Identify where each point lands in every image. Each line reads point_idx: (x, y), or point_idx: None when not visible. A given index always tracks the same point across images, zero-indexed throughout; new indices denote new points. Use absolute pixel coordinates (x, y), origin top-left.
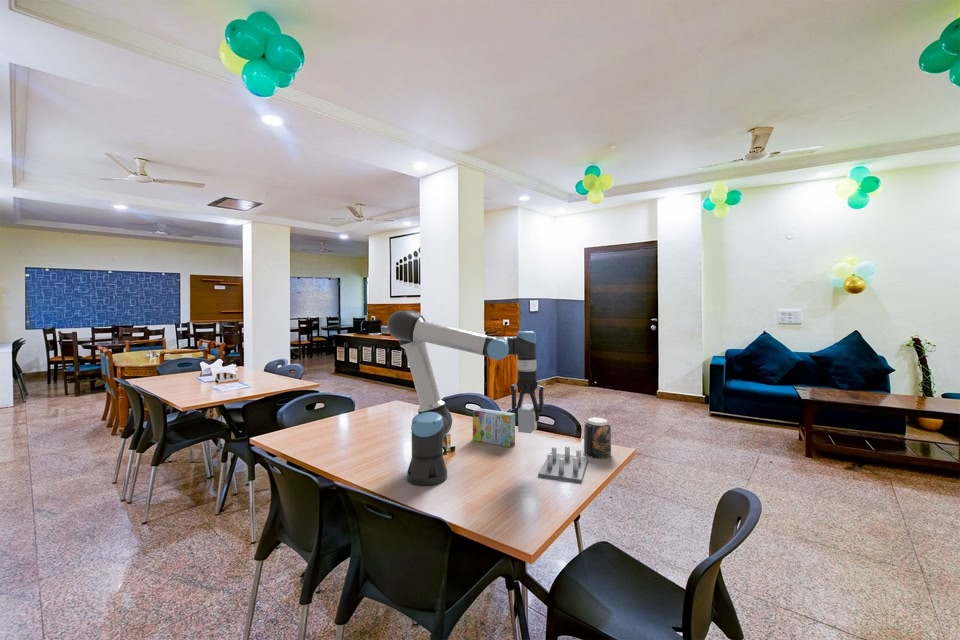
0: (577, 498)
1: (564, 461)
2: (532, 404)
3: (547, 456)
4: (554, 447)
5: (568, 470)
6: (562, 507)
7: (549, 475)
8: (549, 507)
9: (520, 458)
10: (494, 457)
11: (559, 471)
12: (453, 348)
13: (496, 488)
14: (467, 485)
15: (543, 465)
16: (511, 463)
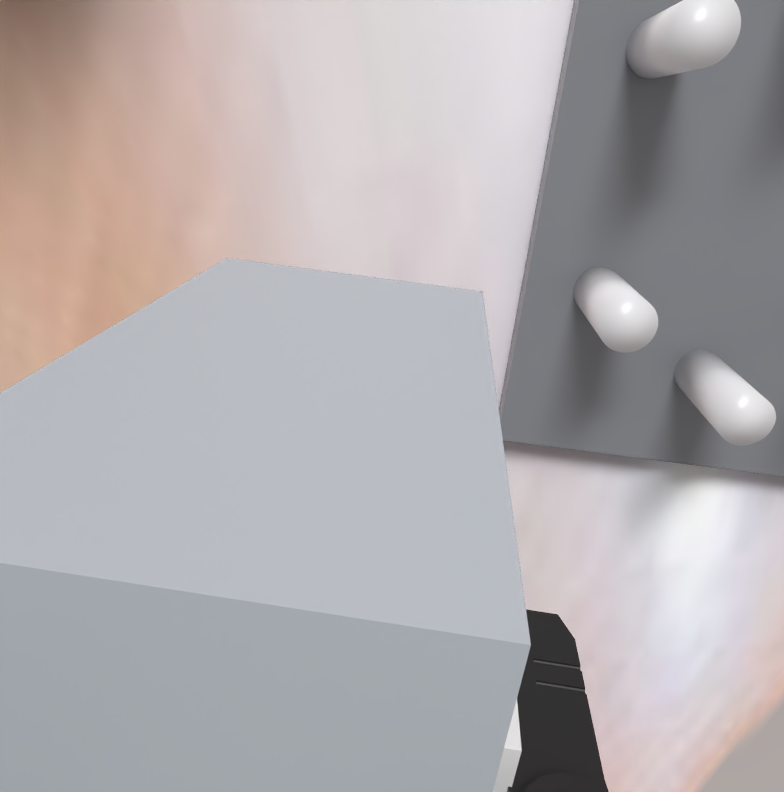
0: (749, 672)
1: (772, 82)
2: (279, 683)
3: (596, 330)
4: (711, 21)
5: (771, 324)
6: (645, 761)
7: (588, 448)
8: None
9: (276, 30)
10: (20, 83)
11: (682, 390)
12: None
13: None
14: None
15: (536, 260)
16: (226, 204)
